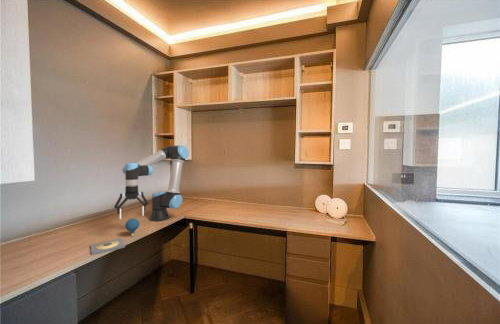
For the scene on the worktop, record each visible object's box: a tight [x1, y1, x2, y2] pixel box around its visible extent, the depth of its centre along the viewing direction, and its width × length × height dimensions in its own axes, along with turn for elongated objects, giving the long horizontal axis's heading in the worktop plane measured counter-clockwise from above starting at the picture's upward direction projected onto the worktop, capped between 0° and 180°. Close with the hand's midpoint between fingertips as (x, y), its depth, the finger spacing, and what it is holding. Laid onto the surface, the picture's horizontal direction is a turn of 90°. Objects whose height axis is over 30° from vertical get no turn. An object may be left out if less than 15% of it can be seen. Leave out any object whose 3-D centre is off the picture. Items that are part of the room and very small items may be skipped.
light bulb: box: [124, 218, 140, 237], centre depth 145 cm, size 8×8×12 cm
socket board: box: [90, 237, 126, 256], centre depth 129 cm, size 16×15×2 cm
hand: (131, 216), depth 145 cm, fingers open, 13 cm apart
